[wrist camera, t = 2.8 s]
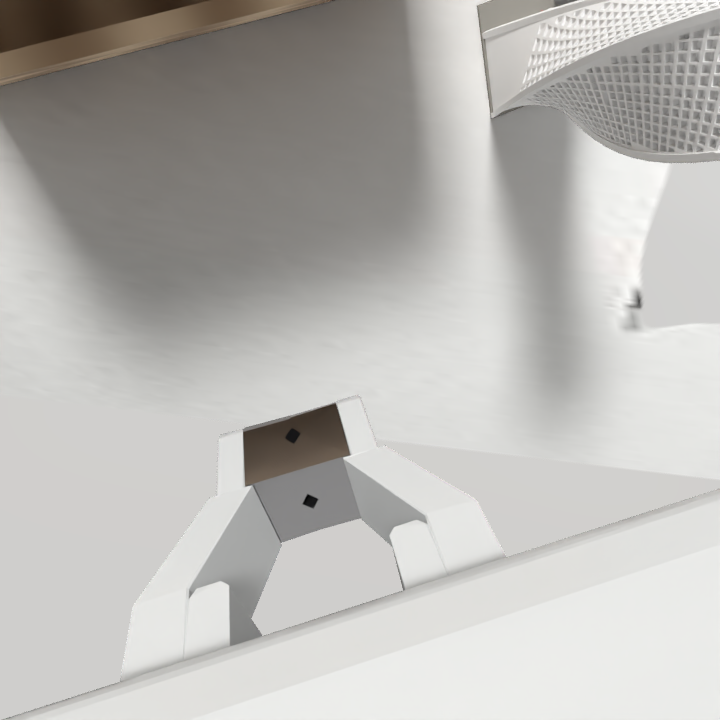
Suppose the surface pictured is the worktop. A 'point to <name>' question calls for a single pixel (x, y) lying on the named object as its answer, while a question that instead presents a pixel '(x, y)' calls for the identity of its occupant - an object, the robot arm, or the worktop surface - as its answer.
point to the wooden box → (111, 28)
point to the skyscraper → (612, 70)
